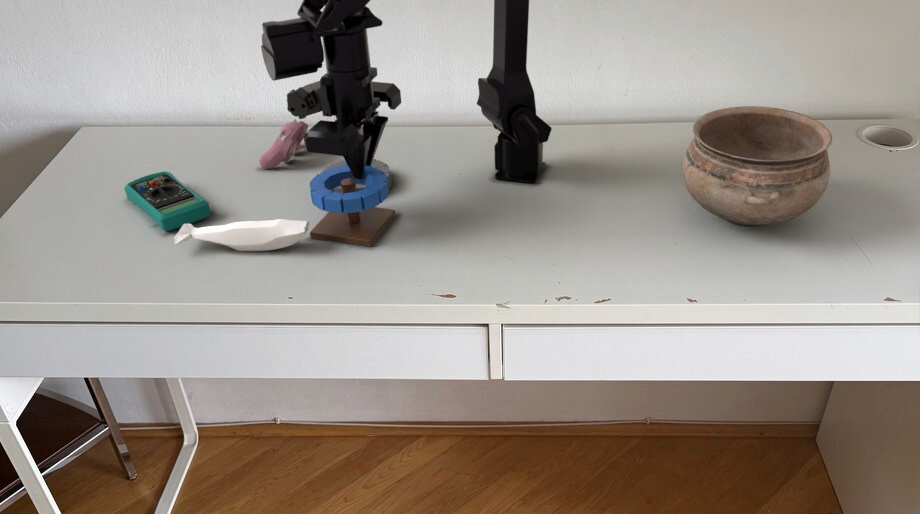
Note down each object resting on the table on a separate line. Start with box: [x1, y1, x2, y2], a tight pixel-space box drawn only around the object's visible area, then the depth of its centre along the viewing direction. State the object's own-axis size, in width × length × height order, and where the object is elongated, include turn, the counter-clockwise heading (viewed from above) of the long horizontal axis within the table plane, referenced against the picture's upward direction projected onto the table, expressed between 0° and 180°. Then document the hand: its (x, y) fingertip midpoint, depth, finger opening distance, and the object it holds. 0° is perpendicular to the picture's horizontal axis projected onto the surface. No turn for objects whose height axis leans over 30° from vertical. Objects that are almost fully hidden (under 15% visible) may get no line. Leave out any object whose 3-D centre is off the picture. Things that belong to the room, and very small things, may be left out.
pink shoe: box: [258, 118, 309, 170], centre depth 140 cm, size 10×5×7 cm, turn 168°
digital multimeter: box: [123, 171, 212, 232], centre depth 129 cm, size 7×15×3 cm, turn 39°
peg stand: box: [309, 178, 397, 248], centre depth 121 cm, size 9×9×7 cm
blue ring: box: [309, 165, 390, 214], centre depth 119 cm, size 10×10×2 cm
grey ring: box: [321, 158, 393, 193], centre depth 133 cm, size 10×10×2 cm
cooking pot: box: [681, 105, 833, 228], centre depth 118 cm, size 25×19×12 cm
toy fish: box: [173, 218, 310, 252], centre depth 118 cm, size 6×18×4 cm, turn 85°
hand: (361, 174), depth 123 cm, fingers closed on blue ring, 2 cm apart
